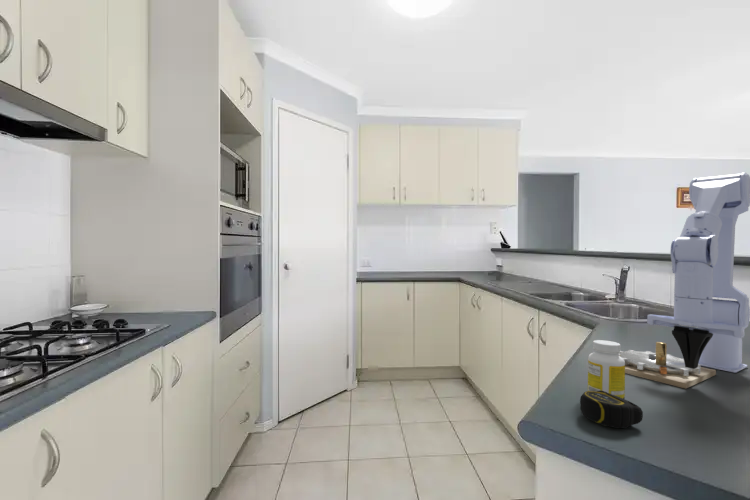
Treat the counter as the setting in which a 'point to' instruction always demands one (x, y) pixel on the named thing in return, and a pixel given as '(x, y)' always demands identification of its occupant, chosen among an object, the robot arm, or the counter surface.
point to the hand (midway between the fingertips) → (691, 367)
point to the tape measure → (609, 409)
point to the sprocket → (658, 361)
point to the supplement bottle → (606, 368)
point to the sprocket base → (672, 376)
